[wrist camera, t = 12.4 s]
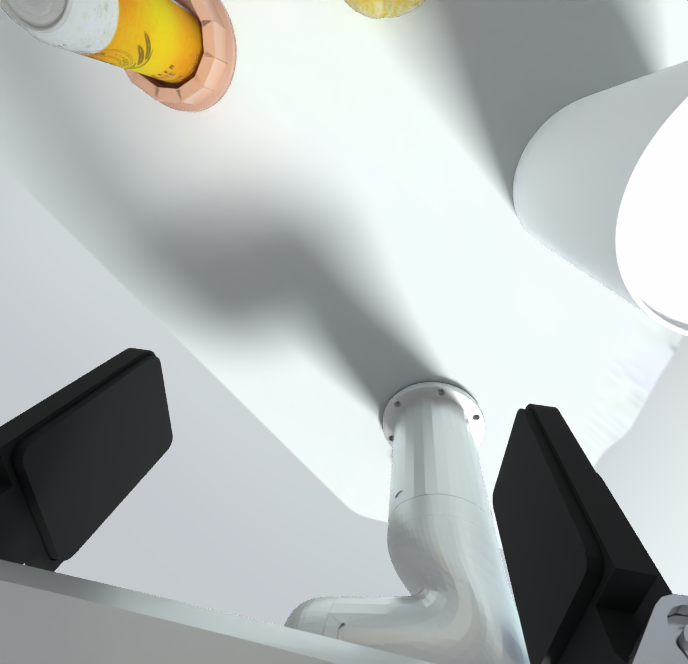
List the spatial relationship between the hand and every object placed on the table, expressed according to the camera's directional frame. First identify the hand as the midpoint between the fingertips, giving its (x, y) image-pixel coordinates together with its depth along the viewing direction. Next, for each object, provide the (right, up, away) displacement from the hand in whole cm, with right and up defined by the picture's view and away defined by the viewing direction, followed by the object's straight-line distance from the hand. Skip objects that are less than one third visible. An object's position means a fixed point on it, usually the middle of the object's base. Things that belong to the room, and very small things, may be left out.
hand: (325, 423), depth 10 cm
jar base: (-15, +29, +25) cm, 41 cm away
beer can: (-15, +29, +24) cm, 40 cm away
